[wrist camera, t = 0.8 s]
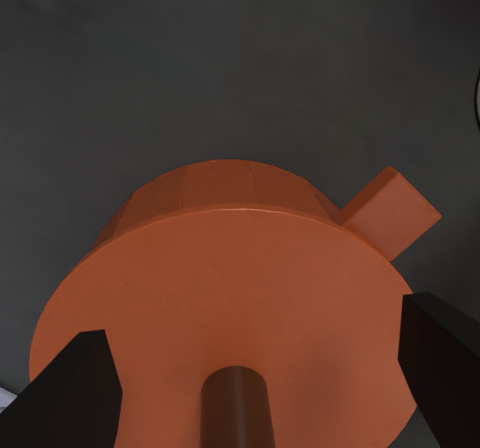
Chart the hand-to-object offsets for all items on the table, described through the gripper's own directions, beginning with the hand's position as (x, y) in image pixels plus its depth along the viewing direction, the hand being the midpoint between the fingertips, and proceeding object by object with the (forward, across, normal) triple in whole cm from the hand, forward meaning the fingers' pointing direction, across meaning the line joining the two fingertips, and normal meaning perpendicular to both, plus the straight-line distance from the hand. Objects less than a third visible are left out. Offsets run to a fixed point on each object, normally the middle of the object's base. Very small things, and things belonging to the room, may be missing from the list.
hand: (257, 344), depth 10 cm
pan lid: (+4, +1, +5) cm, 6 cm away
